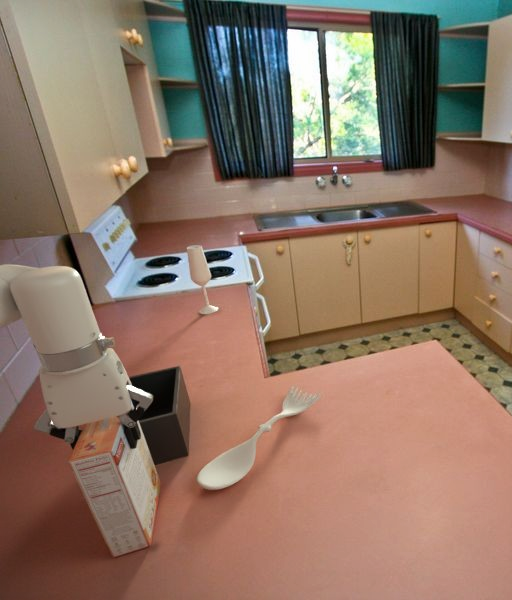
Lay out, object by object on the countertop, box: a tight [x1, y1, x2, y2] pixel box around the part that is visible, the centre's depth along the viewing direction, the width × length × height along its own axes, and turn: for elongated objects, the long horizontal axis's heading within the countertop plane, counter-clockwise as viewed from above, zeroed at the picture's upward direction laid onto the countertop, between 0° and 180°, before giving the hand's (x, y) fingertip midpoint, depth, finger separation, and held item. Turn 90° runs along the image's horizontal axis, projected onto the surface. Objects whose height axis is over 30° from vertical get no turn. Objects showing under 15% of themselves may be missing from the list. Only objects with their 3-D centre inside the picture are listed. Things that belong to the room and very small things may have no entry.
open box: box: [128, 365, 191, 466], centre depth 92 cm, size 12×20×11 cm, turn 24°
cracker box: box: [67, 401, 162, 559], centre depth 70 cm, size 14×6×21 cm, turn 21°
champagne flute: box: [186, 244, 219, 315], centre depth 151 cm, size 7×7×24 cm
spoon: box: [196, 384, 323, 491], centre depth 91 cm, size 9×32×4 cm, turn 155°
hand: (110, 448), depth 68 cm, fingers closed on cracker box, 6 cm apart
